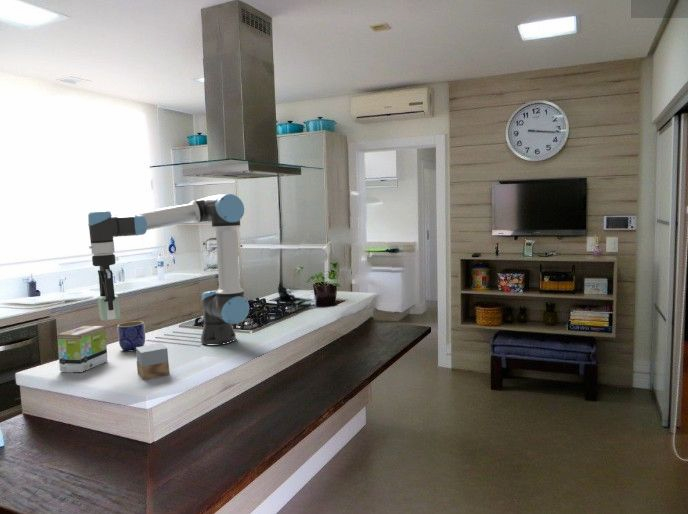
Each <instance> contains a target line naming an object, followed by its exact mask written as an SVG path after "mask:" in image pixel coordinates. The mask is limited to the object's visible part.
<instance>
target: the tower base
mask: <svg viewBox="0 0 688 514" xmlns="http://www.w3.org/2000/svg"><path fill="white" fill-rule="evenodd" d="M169 363H170V362H169V361H168V362H164V363H159V364H154V365H149V366H143V367H142V366H141V365H140V364H139V363H138V362H137V361H136V371H137V375H138V376H139V378H141V379H142V381H145V380H150V379H156V378H160V377H164V376H170V364H169Z"/></svg>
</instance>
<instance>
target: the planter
mask: <svg viewBox="0 0 688 514" xmlns="http://www.w3.org/2000/svg"><path fill="white" fill-rule="evenodd" d="M116 330H117V338H118V345H119V347H120V349H121V350H122V351H126V352H134V351H135V352H136V347H142V346H145V343H146V327H145V322H144V321H142V320H133V321H127V322H126V321H125V322H121V323H119V324H117V325H116Z"/></svg>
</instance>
